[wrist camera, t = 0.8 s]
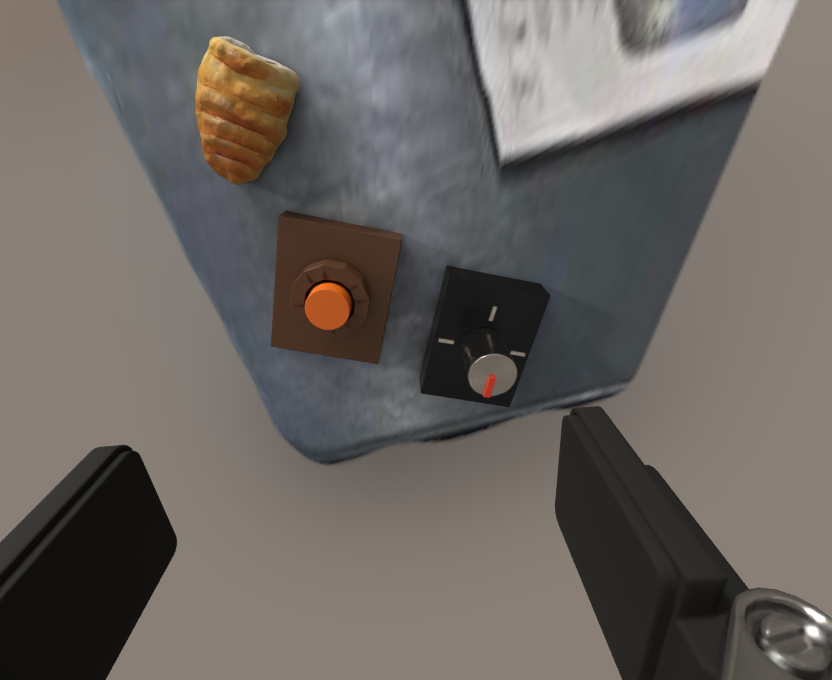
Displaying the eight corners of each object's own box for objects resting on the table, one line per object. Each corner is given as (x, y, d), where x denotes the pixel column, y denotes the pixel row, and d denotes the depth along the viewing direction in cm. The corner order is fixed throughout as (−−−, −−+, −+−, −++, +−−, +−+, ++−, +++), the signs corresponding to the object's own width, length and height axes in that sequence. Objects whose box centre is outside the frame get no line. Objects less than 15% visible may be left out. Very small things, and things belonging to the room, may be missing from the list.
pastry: (275, 195, 35) (261, 202, 32) (192, 161, 34) (168, 165, 31) (306, 72, 32) (294, 65, 28) (214, 29, 30) (190, 17, 27)
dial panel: (446, 265, 39) (450, 276, 36) (540, 283, 40) (551, 295, 37) (419, 377, 44) (420, 394, 41) (503, 390, 45) (509, 408, 42)
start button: (310, 278, 35) (306, 285, 33) (354, 286, 35) (352, 293, 34) (306, 317, 37) (302, 326, 35) (348, 324, 37) (346, 333, 35)
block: (285, 210, 36) (272, 220, 32) (401, 234, 37) (402, 245, 34) (276, 336, 41) (265, 355, 38) (379, 353, 42) (377, 373, 39)
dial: (466, 323, 38) (476, 352, 33) (509, 331, 38) (524, 360, 34) (455, 362, 40) (463, 394, 35) (496, 369, 40) (509, 401, 35)
